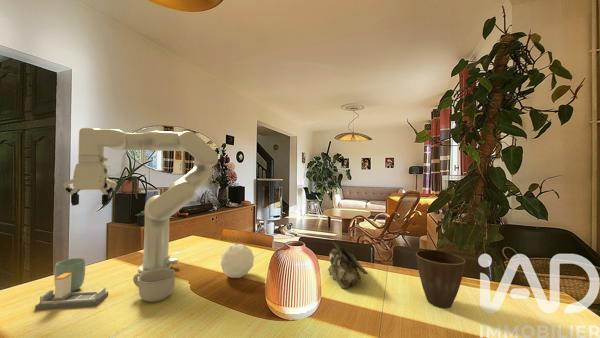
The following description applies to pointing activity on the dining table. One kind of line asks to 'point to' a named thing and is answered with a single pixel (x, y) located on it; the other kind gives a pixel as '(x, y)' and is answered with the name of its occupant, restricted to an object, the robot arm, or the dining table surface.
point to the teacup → (155, 284)
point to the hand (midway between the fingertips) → (90, 204)
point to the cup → (72, 271)
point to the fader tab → (62, 287)
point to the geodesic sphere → (237, 260)
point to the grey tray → (72, 299)
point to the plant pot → (440, 276)
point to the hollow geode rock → (344, 267)
